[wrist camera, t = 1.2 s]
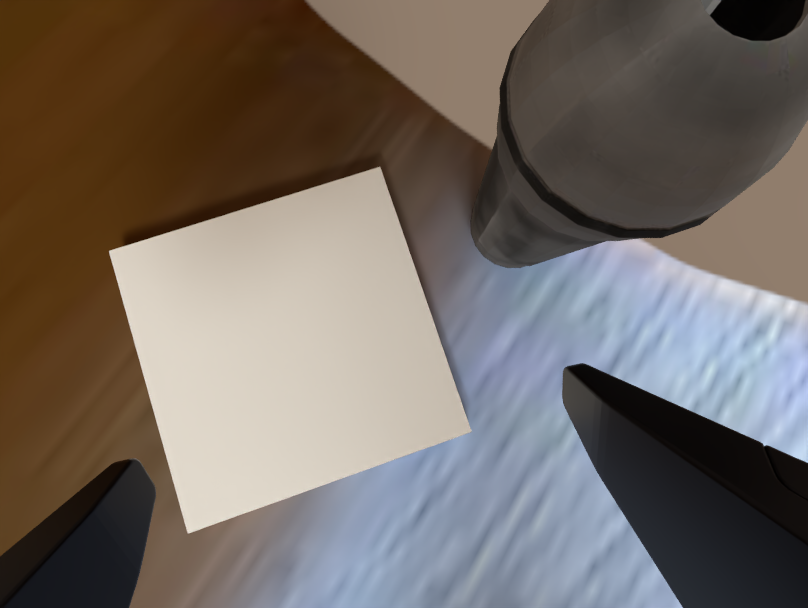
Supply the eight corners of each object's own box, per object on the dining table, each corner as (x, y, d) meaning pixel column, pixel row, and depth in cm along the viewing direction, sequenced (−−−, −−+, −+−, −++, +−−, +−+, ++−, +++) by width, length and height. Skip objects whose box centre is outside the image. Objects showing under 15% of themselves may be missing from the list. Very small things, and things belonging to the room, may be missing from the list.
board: (467, 427, 22) (471, 431, 21) (199, 522, 21) (187, 533, 20) (380, 176, 23) (380, 166, 22) (123, 256, 22) (109, 251, 21)
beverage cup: (571, 303, 23) (1823, -8, 3) (436, 283, 23) (770, -189, 3) (584, 173, 24) (1644, -780, 4) (454, 152, 23) (817, -949, 4)
